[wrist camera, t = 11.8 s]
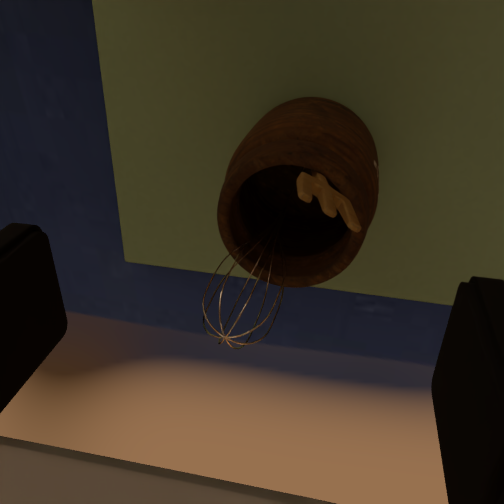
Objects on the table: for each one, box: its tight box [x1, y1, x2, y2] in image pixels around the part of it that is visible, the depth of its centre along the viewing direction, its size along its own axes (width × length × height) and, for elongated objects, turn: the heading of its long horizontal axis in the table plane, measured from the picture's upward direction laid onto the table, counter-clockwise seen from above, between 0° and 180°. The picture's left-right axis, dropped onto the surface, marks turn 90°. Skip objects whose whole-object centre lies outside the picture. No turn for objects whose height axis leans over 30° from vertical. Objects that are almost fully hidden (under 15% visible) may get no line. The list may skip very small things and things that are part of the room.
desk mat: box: [92, 0, 504, 306], centre depth 22 cm, size 20×14×1 cm
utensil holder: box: [203, 97, 379, 349], centre depth 17 cm, size 6×6×12 cm
